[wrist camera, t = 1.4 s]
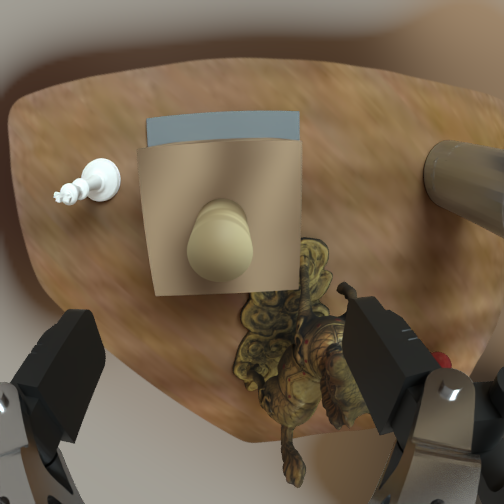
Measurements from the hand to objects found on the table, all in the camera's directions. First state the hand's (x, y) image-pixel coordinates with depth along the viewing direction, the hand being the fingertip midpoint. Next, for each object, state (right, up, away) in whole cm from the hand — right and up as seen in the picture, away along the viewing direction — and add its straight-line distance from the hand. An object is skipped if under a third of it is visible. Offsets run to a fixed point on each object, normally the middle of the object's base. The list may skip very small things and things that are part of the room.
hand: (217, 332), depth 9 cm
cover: (-2, +9, +23) cm, 25 cm away
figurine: (+5, -7, +31) cm, 32 cm away
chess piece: (-16, +11, +22) cm, 29 cm away
